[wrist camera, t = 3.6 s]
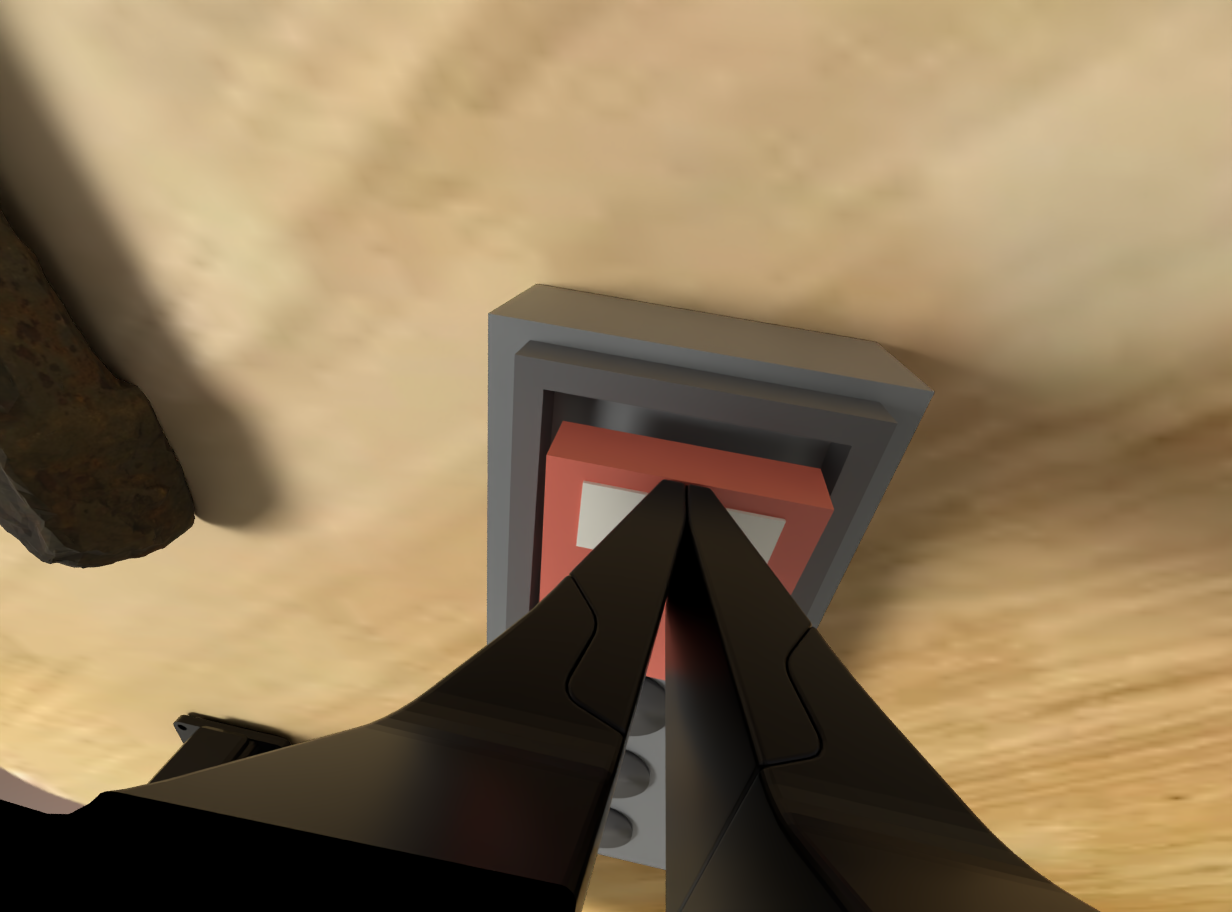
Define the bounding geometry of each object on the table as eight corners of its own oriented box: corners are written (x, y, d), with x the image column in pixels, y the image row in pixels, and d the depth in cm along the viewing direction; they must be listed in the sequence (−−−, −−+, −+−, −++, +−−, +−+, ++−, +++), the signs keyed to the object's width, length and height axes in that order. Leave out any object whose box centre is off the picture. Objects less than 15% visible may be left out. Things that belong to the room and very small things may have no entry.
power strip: (693, 787, 23) (693, 907, 20) (512, 746, 24) (477, 855, 20) (876, 342, 13) (959, 412, 9) (536, 284, 13) (468, 325, 9)
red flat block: (737, 652, 13) (739, 699, 12) (550, 612, 13) (536, 655, 12) (820, 468, 9) (835, 512, 8) (563, 420, 9) (545, 457, 8)
